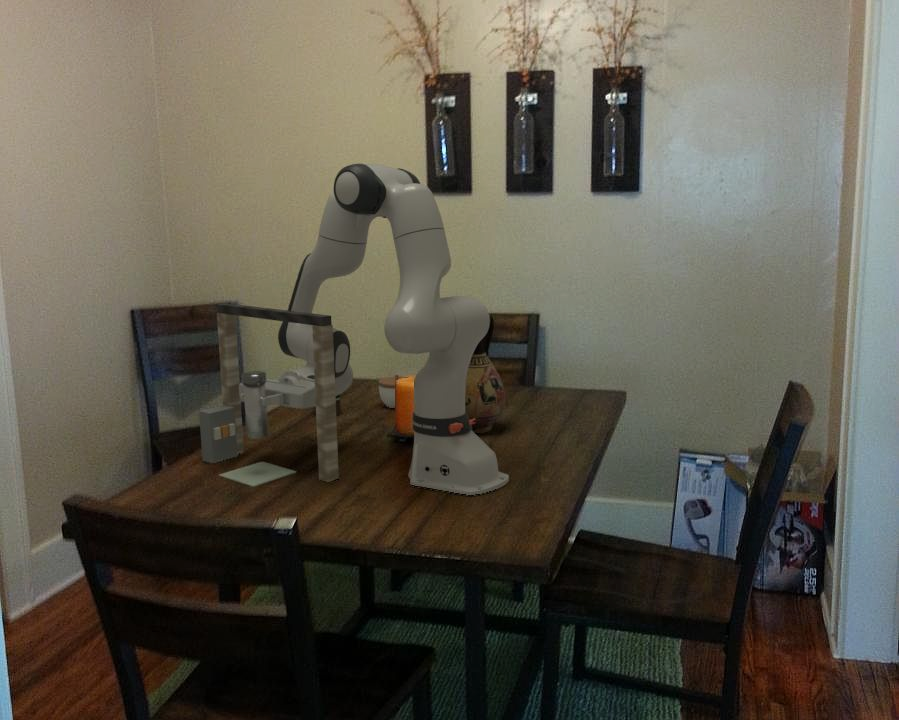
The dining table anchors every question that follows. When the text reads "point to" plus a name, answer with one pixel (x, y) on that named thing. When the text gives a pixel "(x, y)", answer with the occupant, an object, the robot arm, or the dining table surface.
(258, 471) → the sage mat
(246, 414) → the frosted spice bottle
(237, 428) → the arch
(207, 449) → the breaker box
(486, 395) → the ceramic jug
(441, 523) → the dining table surface
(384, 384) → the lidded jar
